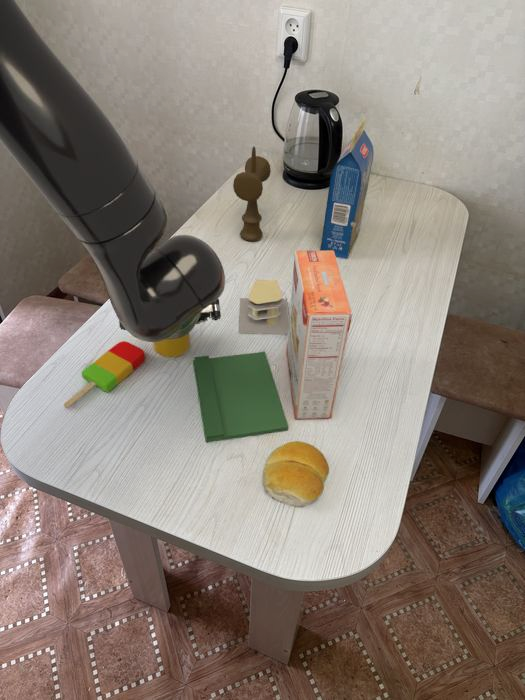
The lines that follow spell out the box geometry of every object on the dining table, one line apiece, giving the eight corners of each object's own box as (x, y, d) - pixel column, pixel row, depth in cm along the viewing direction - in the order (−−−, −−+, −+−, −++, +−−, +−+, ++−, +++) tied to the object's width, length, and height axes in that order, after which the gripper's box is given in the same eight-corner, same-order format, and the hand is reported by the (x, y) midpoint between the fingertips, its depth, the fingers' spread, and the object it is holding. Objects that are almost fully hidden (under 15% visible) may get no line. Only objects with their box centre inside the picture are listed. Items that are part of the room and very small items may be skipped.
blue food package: (359, 232, 115) (382, 118, 98) (347, 259, 107) (370, 140, 89) (332, 226, 116) (350, 113, 99) (319, 252, 108) (335, 134, 91)
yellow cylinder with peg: (155, 359, 83) (148, 314, 76) (153, 335, 87) (146, 290, 80) (191, 354, 84) (188, 310, 77) (188, 331, 88) (184, 286, 82)
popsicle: (149, 359, 83) (147, 350, 81) (79, 419, 73) (76, 410, 72) (124, 346, 85) (122, 337, 84) (53, 402, 75) (50, 394, 74)
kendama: (232, 246, 108) (232, 154, 95) (243, 224, 115) (245, 135, 101) (259, 250, 108) (263, 158, 94) (269, 228, 115) (274, 139, 101)
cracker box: (283, 355, 85) (293, 248, 70) (318, 354, 85) (336, 248, 71) (291, 421, 75) (305, 312, 60) (331, 420, 75) (355, 311, 61)
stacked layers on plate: (239, 298, 95) (240, 274, 92) (287, 299, 96) (289, 275, 92) (238, 333, 88) (238, 308, 84) (289, 334, 89) (292, 310, 85)
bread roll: (332, 459, 70) (336, 442, 67) (315, 515, 64) (319, 499, 61) (275, 442, 72) (277, 424, 69) (254, 494, 66) (255, 478, 63)
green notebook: (206, 442, 71) (205, 436, 70) (193, 363, 83) (192, 357, 82) (288, 430, 73) (288, 424, 73) (264, 354, 85) (265, 348, 84)
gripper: (223, 272, 64) (213, 290, 80) (107, 283, 61) (120, 299, 77) (230, 331, 64) (218, 337, 80) (114, 344, 61) (126, 348, 77)
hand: (170, 318), depth 78 cm, fingers open, 8 cm apart
